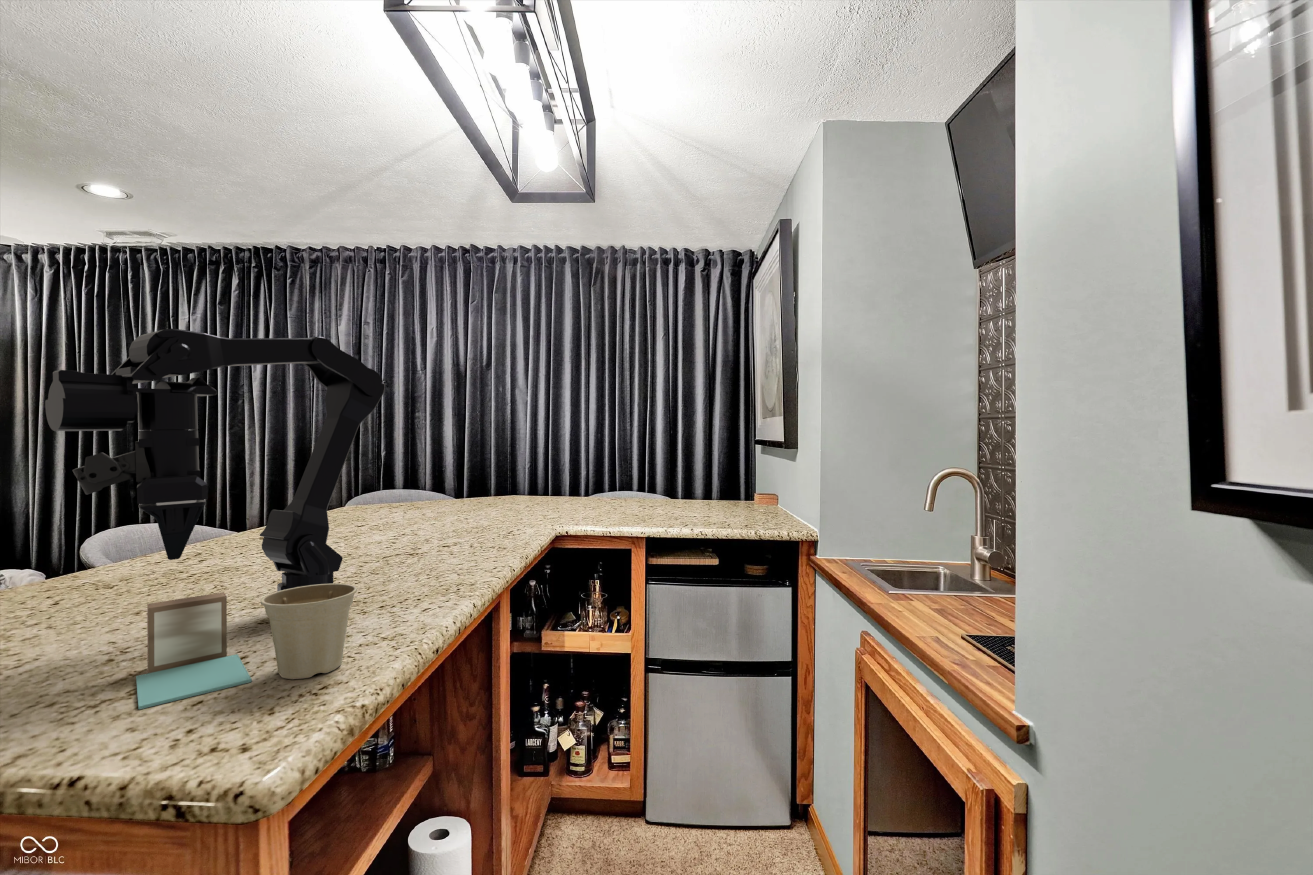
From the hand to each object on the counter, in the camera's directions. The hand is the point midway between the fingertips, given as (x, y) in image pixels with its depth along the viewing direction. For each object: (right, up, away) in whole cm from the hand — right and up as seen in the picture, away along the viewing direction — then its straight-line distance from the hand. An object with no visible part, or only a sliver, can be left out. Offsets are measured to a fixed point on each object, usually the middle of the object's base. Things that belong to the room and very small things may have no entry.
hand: (172, 553), depth 72 cm
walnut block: (+6, -12, -5) cm, 14 cm away
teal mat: (+11, -12, -10) cm, 19 cm away
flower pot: (+22, -12, -7) cm, 26 cm away
